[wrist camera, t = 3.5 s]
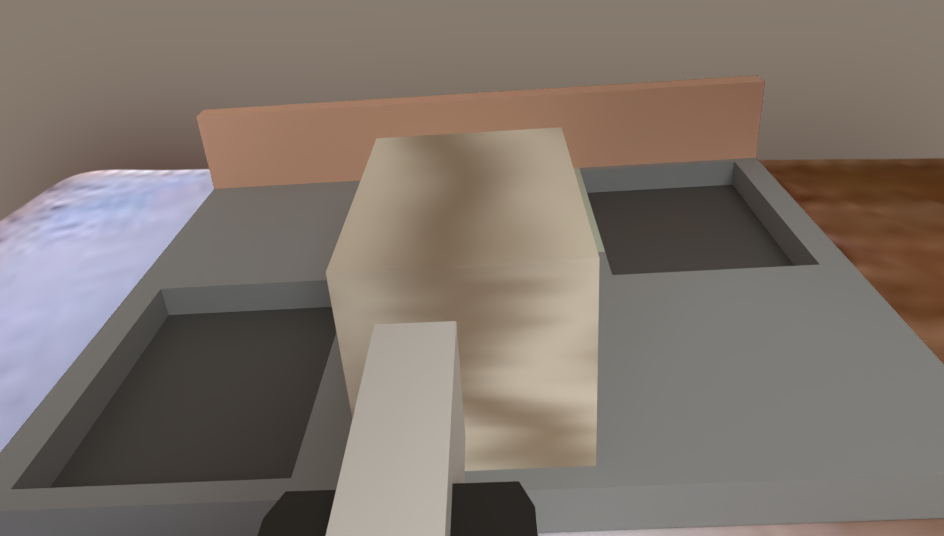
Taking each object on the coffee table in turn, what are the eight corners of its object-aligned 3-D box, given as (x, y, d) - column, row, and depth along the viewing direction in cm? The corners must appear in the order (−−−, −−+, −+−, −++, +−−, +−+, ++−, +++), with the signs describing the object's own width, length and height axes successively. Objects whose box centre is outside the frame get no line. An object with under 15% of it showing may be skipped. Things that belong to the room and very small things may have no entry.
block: (562, 287, 36) (561, 127, 32) (596, 466, 25) (599, 257, 22) (397, 296, 36) (376, 138, 33) (362, 475, 26) (325, 272, 22)
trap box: (745, 177, 51) (757, 75, 48) (1022, 515, 25) (1091, 340, 22) (227, 206, 53) (204, 109, 50) (-27, 553, 27) (-113, 396, 23)
